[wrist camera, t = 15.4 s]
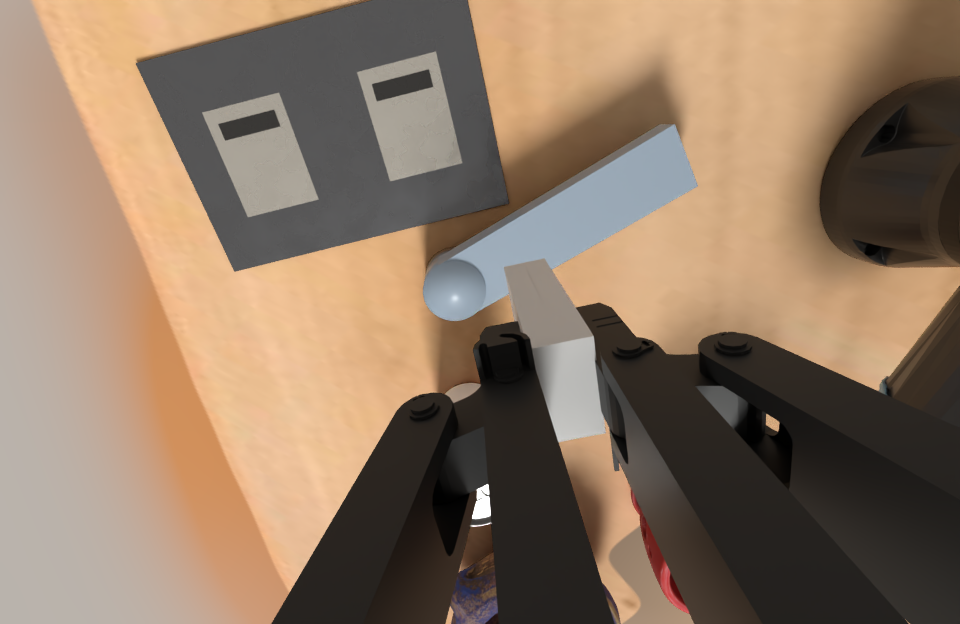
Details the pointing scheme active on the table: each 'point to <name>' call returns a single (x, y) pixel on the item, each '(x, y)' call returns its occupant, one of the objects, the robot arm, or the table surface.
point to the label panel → (333, 127)
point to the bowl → (487, 595)
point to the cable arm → (561, 222)
